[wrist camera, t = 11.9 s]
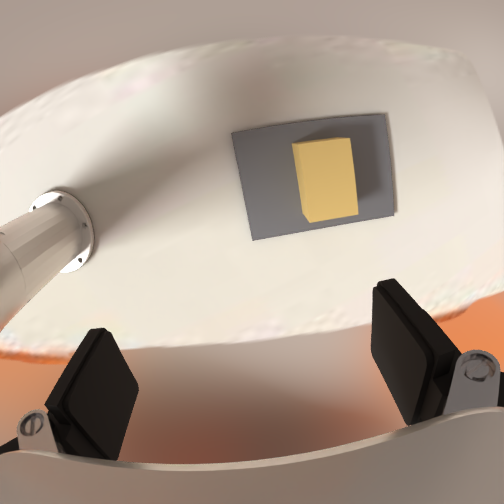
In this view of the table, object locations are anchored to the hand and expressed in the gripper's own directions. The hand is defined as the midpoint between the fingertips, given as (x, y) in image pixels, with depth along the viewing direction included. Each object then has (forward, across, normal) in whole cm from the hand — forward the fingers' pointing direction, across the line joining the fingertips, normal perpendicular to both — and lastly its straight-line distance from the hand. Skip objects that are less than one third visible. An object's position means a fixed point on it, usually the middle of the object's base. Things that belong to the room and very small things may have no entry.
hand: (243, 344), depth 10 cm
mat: (+30, -10, 0) cm, 32 cm away
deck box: (+30, -10, 0) cm, 31 cm away
